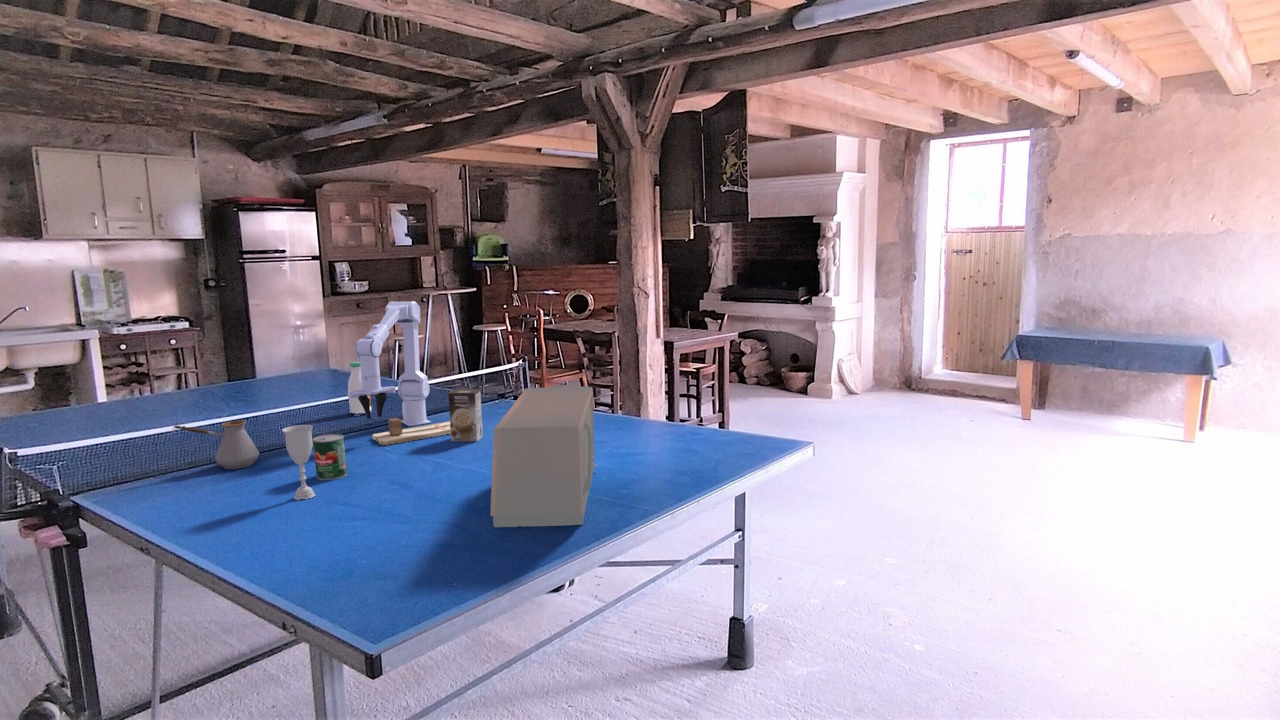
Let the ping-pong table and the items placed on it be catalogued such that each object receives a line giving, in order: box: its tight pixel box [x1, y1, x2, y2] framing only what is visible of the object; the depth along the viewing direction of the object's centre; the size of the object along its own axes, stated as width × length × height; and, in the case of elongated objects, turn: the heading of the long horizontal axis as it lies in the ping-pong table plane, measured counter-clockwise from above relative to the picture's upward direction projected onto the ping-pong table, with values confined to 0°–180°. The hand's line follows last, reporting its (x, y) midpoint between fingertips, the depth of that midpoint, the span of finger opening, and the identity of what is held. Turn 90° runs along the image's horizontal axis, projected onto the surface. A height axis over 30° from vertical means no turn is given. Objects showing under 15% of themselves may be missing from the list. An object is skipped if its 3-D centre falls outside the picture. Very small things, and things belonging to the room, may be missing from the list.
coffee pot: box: [171, 420, 260, 470], centre depth 216 cm, size 21×12×15 cm, turn 135°
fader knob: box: [388, 417, 403, 436], centre depth 245 cm, size 4×3×5 cm
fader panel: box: [371, 420, 451, 446], centre depth 250 cm, size 12×28×2 cm, turn 126°
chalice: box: [281, 424, 316, 501], centre depth 189 cm, size 7×7×18 cm
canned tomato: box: [312, 433, 348, 481], centre depth 206 cm, size 8×8×11 cm
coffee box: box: [448, 388, 484, 442], centre depth 242 cm, size 9×6×16 cm
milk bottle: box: [347, 361, 372, 414], centre depth 283 cm, size 8×8×20 cm
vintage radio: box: [489, 386, 599, 528], centre depth 184 cm, size 45×22×24 cm, turn 178°
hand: (374, 417), depth 240 cm, fingers open, 3 cm apart
